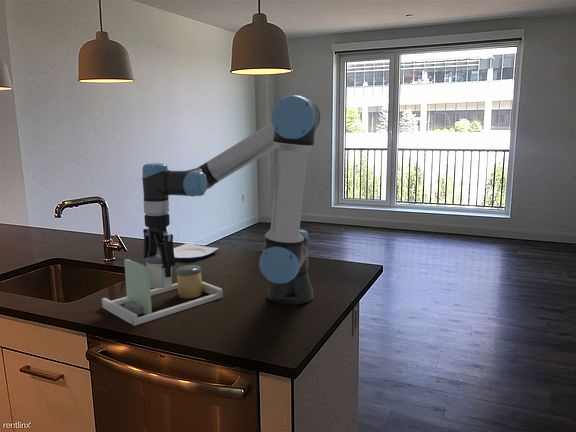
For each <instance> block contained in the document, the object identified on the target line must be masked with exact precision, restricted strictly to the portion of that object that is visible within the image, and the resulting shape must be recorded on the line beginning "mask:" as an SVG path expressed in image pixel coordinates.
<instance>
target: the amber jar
mask: <svg viewBox="0 0 576 432" xmlns="http://www.w3.org/2000/svg"><path fill="white" fill-rule="evenodd" d="M175 273H176V281H177V282H176V283H178V289H177V291H178V297H180V299H194V298H198V297H200V296H202V295H203V294H204V292H203V289H202V281H203V280H202V279H203V278H202V267H201V265H199V264H188V265H183V266H179V267H178V268H176V269H175Z"/></svg>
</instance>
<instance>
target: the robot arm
mask: <svg viewBox="0 0 576 432" xmlns="http://www.w3.org/2000/svg"><path fill="white" fill-rule="evenodd" d="M320 111H321V110H320V109H319V107H318V105H317V103H316V102H314V101H313V100H312V99H310V98H307V97H305V96H303V95H300V94H299V95H298V94H294V95H293V94H290V95H288V96H284V97H282V98H281V99H280V100H278V102H277V103H275V106H274V107H273V110H272V113H271V122H270V123H268V124H267V125H265V126H263V127H262V128H260V129H258V130H257V131H255V132H254V133H252V134H250V135H248V136H247V137H245V138H243V139H242V140H241V141H239V142H237V143H236V144H234V145H232V146H231V147H229V148H227V149H226V150H224V151H223V152H221V153H219V154H217V155H216V156H214V157H212V158H211V159H209V160H207V161H206V162H204V163H203V164H200V165H199V166H198V167H196V168H192V169H187V170H169V168H168V164H166V163H162V162H161V163H160V162H157V163H156V162H155V163H153V162H152V163H146V164H143V166H142V173H141V174H142V175H141V176H142V177H141V178H142V179H141V181H142V193H143V213H144V214H145V215H144V226H145V227H147V228H144V229H143V259H146V257H148V256H151V255H156V254H157V252H158V251H159V252H160V253H159V254H160V255H161V259H162V263H163V266H162V267H161V268H162V285H163V288H166V287H169V286H171V270H172V267H174V266H176V259H175V257H174V249H173V248H174V235H173V234H172V233H171V234H168V231H167V230H168V229H167V227H168V226H170V224H171V222H170V214H169V212H170V201H169V199H170V197H169V196H181V197H183V196H184V197H185V196H186V197H191V198H193V197H201V196H204V195H205V193H206V192H207V190H209V189H211V188H212V187H213V186H214V185H216V184H218V183H219V182H220V181H222V180H224V179H225V178H228V177H229V176H231V175H233V174H234V173H236V172H237V171H239V170H241V169H243V168H244V167H246V166H247V165H250V164H251V163H252V162H255V161H256V160H258V159H259V158H261V157H263V156H265V155H266V154H268V153H270V152H272V151H274V150H275V149H276V148H277V154H276V155H277V156H276V166H275V177H274V178H275V179H274V187H273V196H272V197H273V199H272V208H271V209H272V210H271V219H270V220H271V221H270V229H269V230H268V231H267V232H266V233H265V234H264V242H263V251H262V252H261V255H259V260H258V261H259V263H258V266H259V270H260V273H261V274H262V275H263V277H264V278H265V279H266V280H267V281H269V282H270V283H269V287H268V289H267V298H268V300H270V301H271V302H273V303H274V304H278V305H279V304H280V305H285V306H286V305H287V306H290V305H291V306H294V305H302V304H306V303H308V302H310V301H312V300H313V299H314V289H313V287H312V284H311V280H310V277H309V241H310V239H309V233H308V231H307V230H304V229H301V228H300V227H301V219H302V210H303V200H304V190H305V180H306V171H307V161H308V152H309V151H310V150H312V148H313V147H314V144H315V135H316V130H317V129H318V127H319V126H320V121H321V112H320ZM158 249H159V250H158ZM157 250H158V251H157Z"/></svg>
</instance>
